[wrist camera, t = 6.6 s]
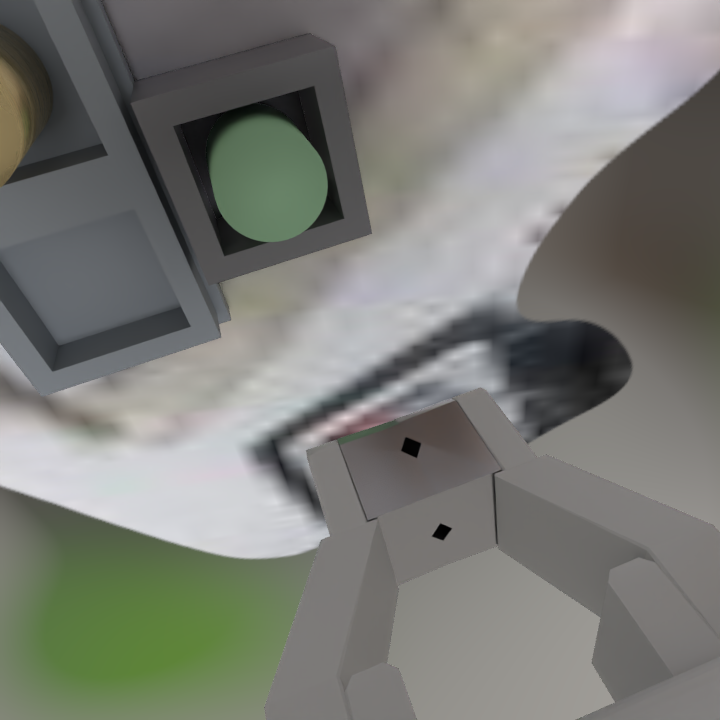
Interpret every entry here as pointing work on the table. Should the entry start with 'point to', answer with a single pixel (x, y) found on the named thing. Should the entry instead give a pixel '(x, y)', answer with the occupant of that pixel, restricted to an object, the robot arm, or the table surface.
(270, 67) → the button housing
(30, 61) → the billet
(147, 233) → the compartment tray
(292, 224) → the button
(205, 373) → the table surface
